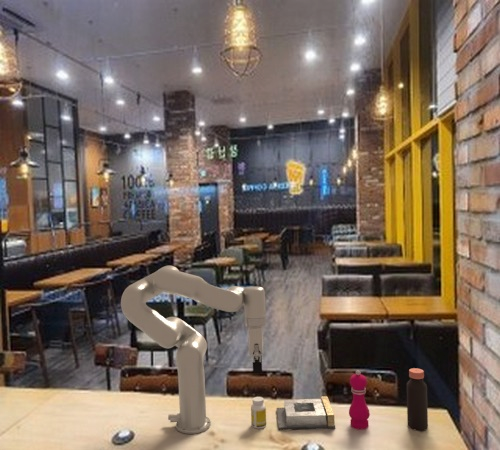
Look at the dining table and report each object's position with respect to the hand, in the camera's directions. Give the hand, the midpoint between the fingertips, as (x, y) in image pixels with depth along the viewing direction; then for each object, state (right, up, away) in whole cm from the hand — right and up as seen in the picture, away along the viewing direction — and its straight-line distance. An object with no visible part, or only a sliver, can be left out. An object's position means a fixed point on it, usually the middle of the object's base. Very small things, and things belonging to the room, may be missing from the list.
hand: (257, 368), depth 165 cm
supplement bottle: (+1, -21, +1) cm, 21 cm away
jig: (+18, -20, +5) cm, 27 cm away
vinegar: (+56, -20, -4) cm, 60 cm away
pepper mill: (+36, -20, -2) cm, 42 cm away
